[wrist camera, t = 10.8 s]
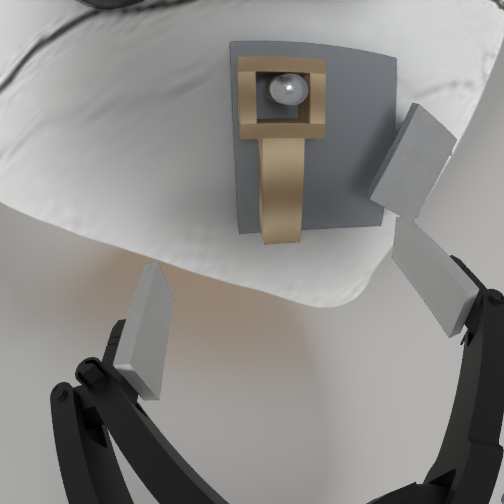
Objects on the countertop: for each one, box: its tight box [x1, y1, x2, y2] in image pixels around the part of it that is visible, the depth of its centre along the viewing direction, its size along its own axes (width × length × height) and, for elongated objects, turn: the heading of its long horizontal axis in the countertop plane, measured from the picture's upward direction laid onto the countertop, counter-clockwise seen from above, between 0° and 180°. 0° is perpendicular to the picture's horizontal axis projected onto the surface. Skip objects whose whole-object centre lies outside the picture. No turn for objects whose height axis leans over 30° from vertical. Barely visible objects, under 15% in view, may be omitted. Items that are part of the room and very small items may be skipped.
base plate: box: [230, 41, 397, 234], centre depth 27 cm, size 20×17×2 cm
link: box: [236, 56, 326, 244], centre depth 24 cm, size 17×7×4 cm, turn 2°
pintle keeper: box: [262, 74, 457, 221], centre depth 24 cm, size 13×19×8 cm
